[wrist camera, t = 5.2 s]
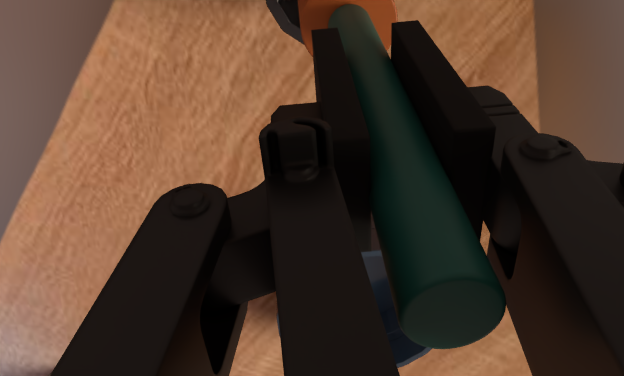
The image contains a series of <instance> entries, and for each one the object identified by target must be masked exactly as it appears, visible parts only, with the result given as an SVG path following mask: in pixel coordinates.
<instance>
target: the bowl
mask: <svg viewBox="0 0 624 376" xmlns="http://www.w3.org/2000/svg"><path fill="white" fill-rule="evenodd" d="M361 254H362V257H363V260H364V264H365V267H366V270H367V273H368V276H369V279H370V283H371V286H372V289H373V292H374V295H375V299H376V302H377V305H378V308H379V311H380V314H381V318H382V321H383V324H384V327H385V330H386V334H387V337H388V340H389V343H390V346H391V349H392V353H393V356H394V359H395V362H396V365H397V368H399V367H402V366H404V365H407V364H409V363H411V362H413V361H414V360H416V359H418V358H420V357H422V356H424V355H425V354H427V353H428V352H429V351H430V350H431V349H432V348H428V347H424V346H421V345H419V344H417V343H415V342H413V341H412V340H410V339H409V338H408V337H407V336H406V335H405V334H404V333H403V331H402V330H401V328H400V326H399V323H398V320H397V315H396V311H395V307H394V303H393V299H392V295H391V290H390V286H389V282H388V278H387V274H386V270H385V265H384V261H383V257H382V253H381V249H380V245H379V240H378V236H377V232H376V228H375V224H374V220H373V216H372V211H371V251H370V252H361ZM277 323H278V329H279V336H280V328H279V318H278V308H277Z"/></svg>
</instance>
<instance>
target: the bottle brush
mask: <svg viewBox="0 0 624 376" xmlns="http://www.w3.org/2000/svg"><path fill="white" fill-rule="evenodd" d="M298 9H299V19H300V29H301V36H302V39H303V42H304V44H305V47H306V48H307V50H308V52H309V53H310V54H311V56H312V57H313V47H312V34H311V30H315V29H326V28H338V31H339V34H340V37H341V41H342V44H343V48H344V51H345V54H346V58H347V61H348V65H349V68H350V71H351V75H352V78H353V82H354V85H355V88H356V92H357V95H358V99H359V102H360V105H361V109H362V112H363V116H364V119H365V122H366V126H367V129H368V133H369V136H370V173H371V191H370V196H369V202H370V207H371V211H372V216H373V220H374V224H375V228H376V232H377V236H378V240H379V245H380V249H381V253H382V257H383V261H384V265H385V270H386V274H387V278H388V282H389V286H390V290H391V295H392V299H393V303H394V307H395V311H396V315H397V320H398V323H399V326H400V328H401V330H402V331H403V333H404V334H405V335H406V336H407V337H408V338H409V339H410V340H412V341H413V342H415V343H417V344H419V345H421V346H424V347H428V348H434V349H451V348H457V347H462V346H465V345H469V344H471V343H474V342H476V341H478V340H480V339H482V338H483V337H485V336H486V335H488V334H489V333H490V332H491V331H493V330H494V329H495V328H496V326H497V325H498V324H499V323H500V321H501V320H502V318H503V316H504V313H505V308H506V296H505V293H504V290H503V288H502V286H501V284H500V282H499V280H498V278H497V276H496V274H495V272H494V270H493V268H492V266H491V264H490V262H489V260H488V258H487V256H486V253H485V251H484V249H483V247H482V245H481V243H480V241H479V239H478V237H477V235H476V233H475V231H474V229H473V227H472V225H471V223H470V221H469V219H468V217H467V215H466V213H465V211H464V208H463V206H462V204H461V202H460V200H459V198H458V196H457V194H456V192H455V190H454V188H453V186H452V184H451V182H450V180H449V178H448V176H447V174H446V172H445V170H444V168H443V166H442V163H441V161H440V159H439V157H438V155H437V153H436V151H435V149H434V147H433V145H432V143H431V141H430V139H429V137H428V135H427V133H426V131H425V129H424V127H423V125H422V123H421V121H420V118H419V116H418V114H417V112H416V110H415V108H414V106H413V104H412V102H411V100H410V98H409V96H408V94H407V92H406V90H405V88H404V86H403V84H402V82H401V80H400V78H399V76H398V73H397V71H396V69H395V67H394V65H393V63H392V61H391V59H390V57H389V55H388V53H387V50H388V49H389V47H390V45H391V23H394V22H397V21H398V20H397V10H396V6H395V3H394V1H393V0H298Z"/></svg>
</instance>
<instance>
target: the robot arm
mask: <svg viewBox="0 0 624 376" xmlns="http://www.w3.org/2000/svg"><path fill="white" fill-rule="evenodd" d="M311 34H312V47H313V61H314V74H315V87H316V101H317V102H315V103H304V104H293V105H282V106H279V107H278V108H277V110H276V111H275V112H274V113H273V114H272V115H271V123H270V124H268V125H267V126H266V127H265V128H263V129H262V130H261V132H260V135H259V143H260V149H261V156H262V163H263V170H264V176H265V180H264V181H263V182H262V183H261V184H260V185H258V186H257V187H255V188H253V189H252V190H250V191H247V192H245V193H242V194H239V195H236V196H232V197H229V198H227V196H226V194H225V193H224V191H223V190H222V189H221V188H219V187H216V186H214V185H211V184H203V183H197V184H187V185H183V186H180V187H177V188H174V189H172V190H170V191H169V192H167V193H165V194H164V195H162V196H161V197H160V198H159V199H158V200H157V201H156V202H155V203H154V205H153V207H152V208H151V210H150V211H149V213H148V215H147V216H146V218H145V220H144V221H143V223H142V225H141V226H140V228H139V230H138V231H137V233H136V235H135V236H134V238H133V240H132V241H131V243H130V245H129V246H128V248H127V249H126V251H125V253H124V254H123V256H122V258H121V259H120V261H119V263H118V264H117V266H116V268H115V269H114V271H113V273H112V274H111V276H110V278H109V279H108V281H107V283H106V284H105V286H104V287H103V289H102V291H101V292H100V294H99V296H98V297H97V299H96V301H95V302H94V304H93V306H92V307H91V309H90V311H89V312H88V314H87V316H86V317H85V319H84V321H83V322H82V324H81V325H80V327H79V329H78V330H77V332H76V334H75V335H74V337H73V339H72V340H71V342H70V344H69V345H68V347H67V349H66V350H65V352H64V354H63V355H62V357H61V359H60V360H59V362H58V363H57V365H56V367H55V368H54V370H53V372H52V373H51V375H50V376H229V373H230V370H231V366H232V363H233V359H234V355H235V352H236V348H237V345H238V341H239V338H240V334H241V330H242V327H243V323H244V320H245V316H246V313H247V309H248V301H250V300H253V299H256V298H258V297H261V296H264V295H267V294H270V293H273V292H275V291H276V298H277V308H278V318H279V328H280V338H281V348H282V358H283V368H284V376H400V375H399V372H398V368H397V365H396V362H395V359H394V356H393V353H392V349H391V346H390V343H389V340H388V337H387V334H386V330H385V327H384V324H383V321H382V318H381V314H380V311H379V308H378V305H377V302H376V299H375V295H374V292H373V289H372V286H371V283H370V279H369V276H368V273H367V270H366V267H365V264H364V260H363V257H362V254H361V252H370V251H371V207H370V202H369V196H370V191H371V173H370V136H369V133H368V129H367V126H366V122H365V119H364V116H363V112H362V109H361V105H360V102H359V99H358V95H357V92H356V88H355V85H354V82H353V78H352V75H351V71H350V68H349V65H348V61H347V58H346V54H345V51H344V48H343V44H342V41H341V37H340V34H339V31H338V28H326V29H315V30H311ZM391 61H392V63H393V65H394V67H395V69H396V71H397V73H398V76H399V78H400V80H401V82H402V84H403V86H404V88H405V90H406V92H407V94H408V96H409V98H410V100H411V102H412V104H413V106H414V108H415V110H416V112H417V114H418V116H419V118H420V121H421V123H422V125H423V127H424V129H425V131H426V133H427V135H428V137H429V139H430V141H431V143H432V145H433V147H434V149H435V151H436V153H437V155H438V157H439V159H440V161H441V163H442V166H443V168H444V170H445V172H446V174H447V176H448V178H449V180H450V182H451V184H452V186H453V188H454V190H455V192H456V194H457V196H458V198H459V200H460V202H461V204H462V206H463V208H464V211H465V213H466V215H467V217H468V219H469V221H470V223H471V225H472V227H473V229H474V231H475V233H476V235H477V237H478V239H479V241H480V238H481V231H482V224H483V220H484V222H485V224H486V226H487V228H488V230H489V232H490V238H489V245H488V251H487V258H488V260H489V262H490V264H491V266H492V268H493V270H494V272H495V274H496V276H497V278H498V280H499V282H500V284H501V286H502V288H503V290H504V293H505V296H506V305H507V308H508V311H509V313H510V316H511V319H512V322H513V324H514V327H515V330H516V332H517V335H518V338H519V341H520V343H521V346H522V349H523V351H524V354H525V357H526V359H527V362H528V365H529V368H530V370H531V373H532V376H624V164H620V163H608V162H595V161H588V160H586V159H585V158H584V156H583V155H582V154H581V153H580V151H579V150H578V149H577V148H576V147H575V146H574V145H573V144H572V143H570V142H569V141H567V140H565V139H562V138H560V137H557V136H552V135H548V134H542V133H538V132H537V131H536V130H535V129H534V128H533V127H532V125H531V124H530V123H529V122H528V121H527V120H526V118H525V117H524V116H523V115H522V114H520V112H519V110H518V109H517V108H516V107H515V106H513V103H512V102H511V101H510V100H509V99H508V98H507V96H506V95H505V94H504V93H502V92H500V91H498V90H496V89H494V88H492V87H490V86H478V87H467V86H466V85H465V84H464V82H463V81H462V80H461V78H460V77H459V76H458V74H457V73H456V71H455V70H454V69H453V67H452V66H451V65H450V63H449V62H448V61H447V59H446V58H445V57H444V55H443V54H442V52H441V51H440V50H439V48H438V47H437V46H436V44H435V43H434V42H433V40H432V39H431V38H430V36H429V35H428V33H427V32H426V31H425V29H424V28H423V27H422V25H421V24H420V23H419V21H418V20H416V21H405V22H394V23H391Z"/></svg>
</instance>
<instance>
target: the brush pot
mask: <svg viewBox="0 0 624 376" xmlns="http://www.w3.org/2000/svg"><path fill="white" fill-rule="evenodd" d="M266 4H267V7H268V8H269V10H270V12H271V13H272V15H273V16H274V18H275V20H276V21H277V23H278V25H279V26H280V28H281V29H282V30H283V31H284V32H285V33H287V34H288V35H290V36H291V37H293V38H295V39H296V40H298V41H299V42H301V43H302V44H304V42H303V39H302V36H301V29H300V19H299V9H298V0H266ZM304 45H305V44H304Z"/></svg>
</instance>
